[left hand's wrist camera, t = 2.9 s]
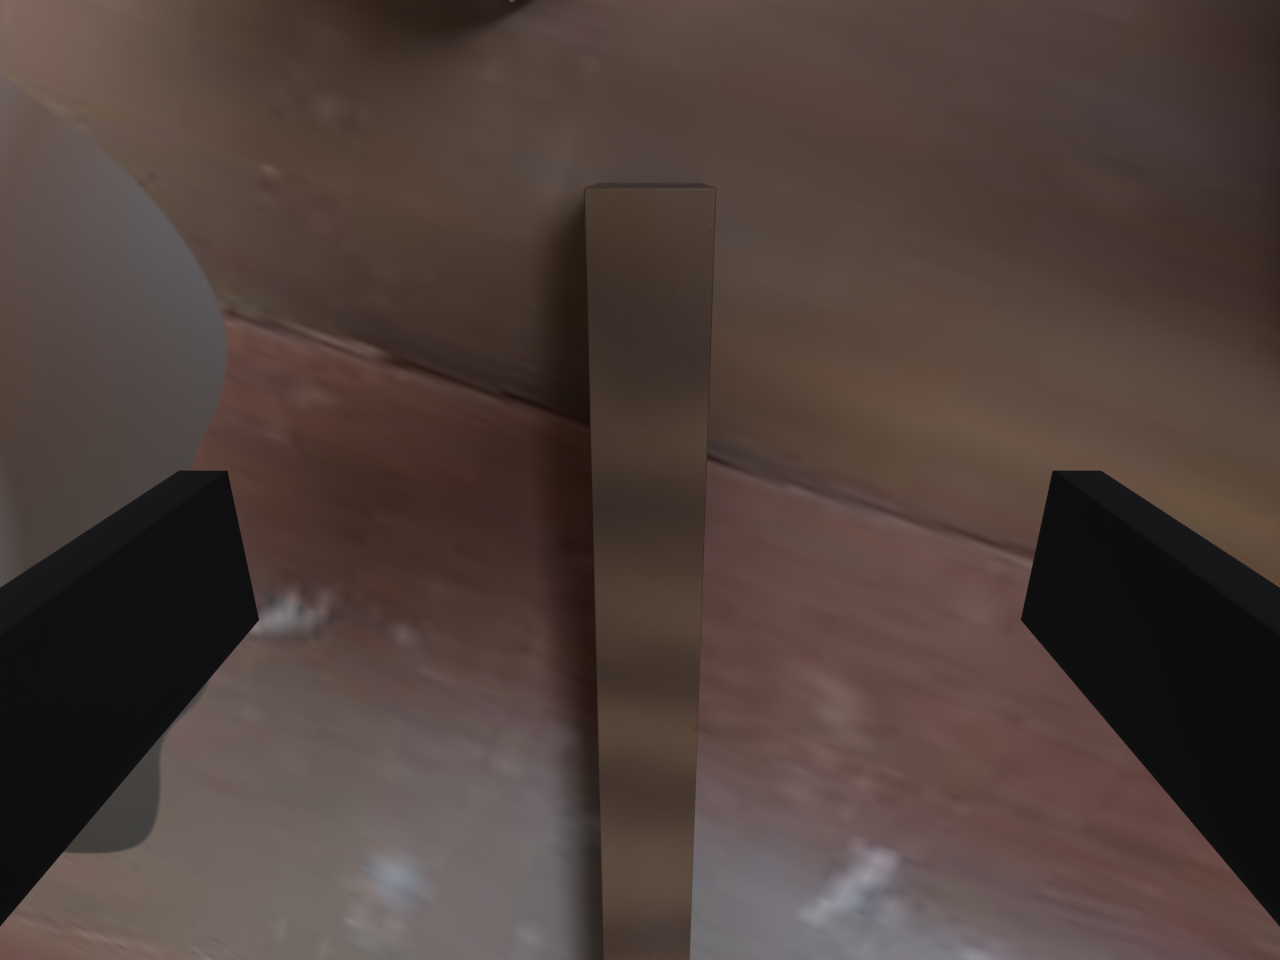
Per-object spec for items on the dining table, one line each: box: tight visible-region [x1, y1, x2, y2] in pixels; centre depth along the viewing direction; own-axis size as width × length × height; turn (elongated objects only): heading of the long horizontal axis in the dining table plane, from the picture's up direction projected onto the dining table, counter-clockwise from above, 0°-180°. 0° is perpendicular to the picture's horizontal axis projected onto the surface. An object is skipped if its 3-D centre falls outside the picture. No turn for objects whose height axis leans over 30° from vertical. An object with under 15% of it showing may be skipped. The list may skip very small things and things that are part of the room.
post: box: [584, 184, 716, 960], centre depth 48 cm, size 80×5×8 cm, turn 0°
